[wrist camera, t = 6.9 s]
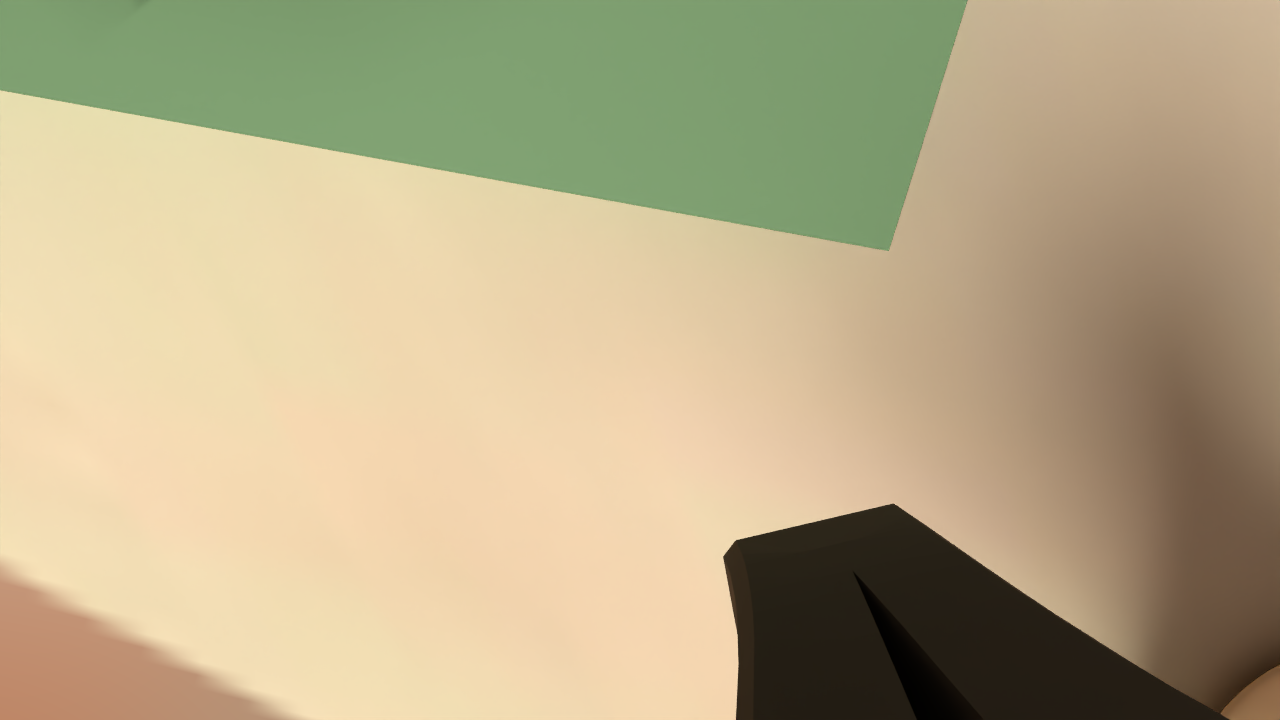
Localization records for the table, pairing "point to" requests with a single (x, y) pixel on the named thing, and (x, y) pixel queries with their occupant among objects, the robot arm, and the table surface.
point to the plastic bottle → (1257, 699)
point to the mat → (538, 91)
